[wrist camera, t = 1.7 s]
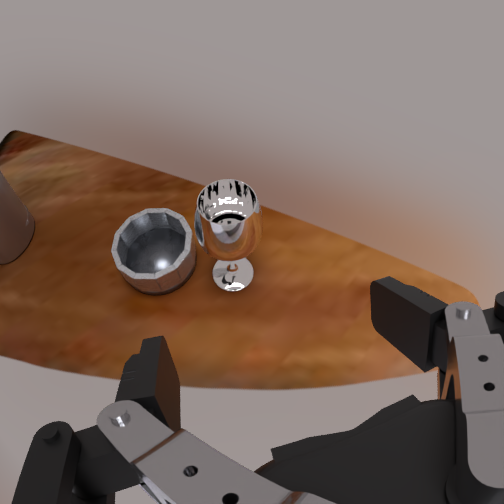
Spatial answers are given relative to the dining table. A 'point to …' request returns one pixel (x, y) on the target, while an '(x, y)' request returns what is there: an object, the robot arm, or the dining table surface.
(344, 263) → the dining table surface
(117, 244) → the grey bowl
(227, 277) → the wineglass
